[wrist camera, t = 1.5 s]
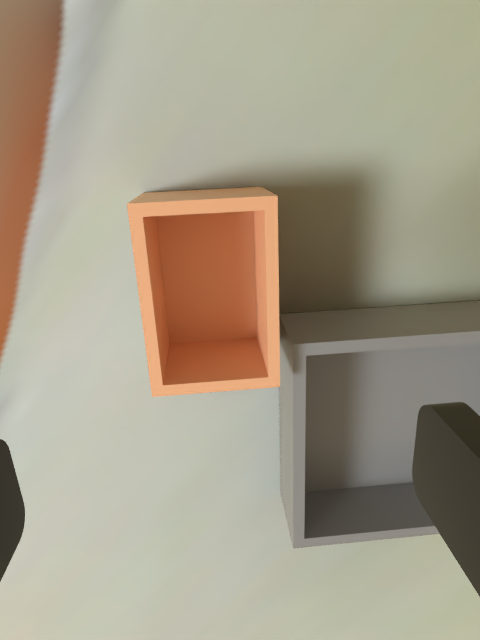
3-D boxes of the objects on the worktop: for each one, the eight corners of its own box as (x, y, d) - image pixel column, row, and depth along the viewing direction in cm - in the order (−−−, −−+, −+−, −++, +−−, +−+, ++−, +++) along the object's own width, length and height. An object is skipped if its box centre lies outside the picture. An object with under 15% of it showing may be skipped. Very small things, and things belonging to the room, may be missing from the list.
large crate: (278, 314, 23) (292, 344, 20) (532, 296, 24) (592, 322, 20) (280, 495, 28) (293, 548, 24) (497, 474, 28) (541, 523, 25)
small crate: (143, 192, 21) (126, 203, 16) (260, 186, 21) (277, 195, 16) (162, 348, 24) (152, 396, 19) (265, 341, 24) (280, 386, 19)
